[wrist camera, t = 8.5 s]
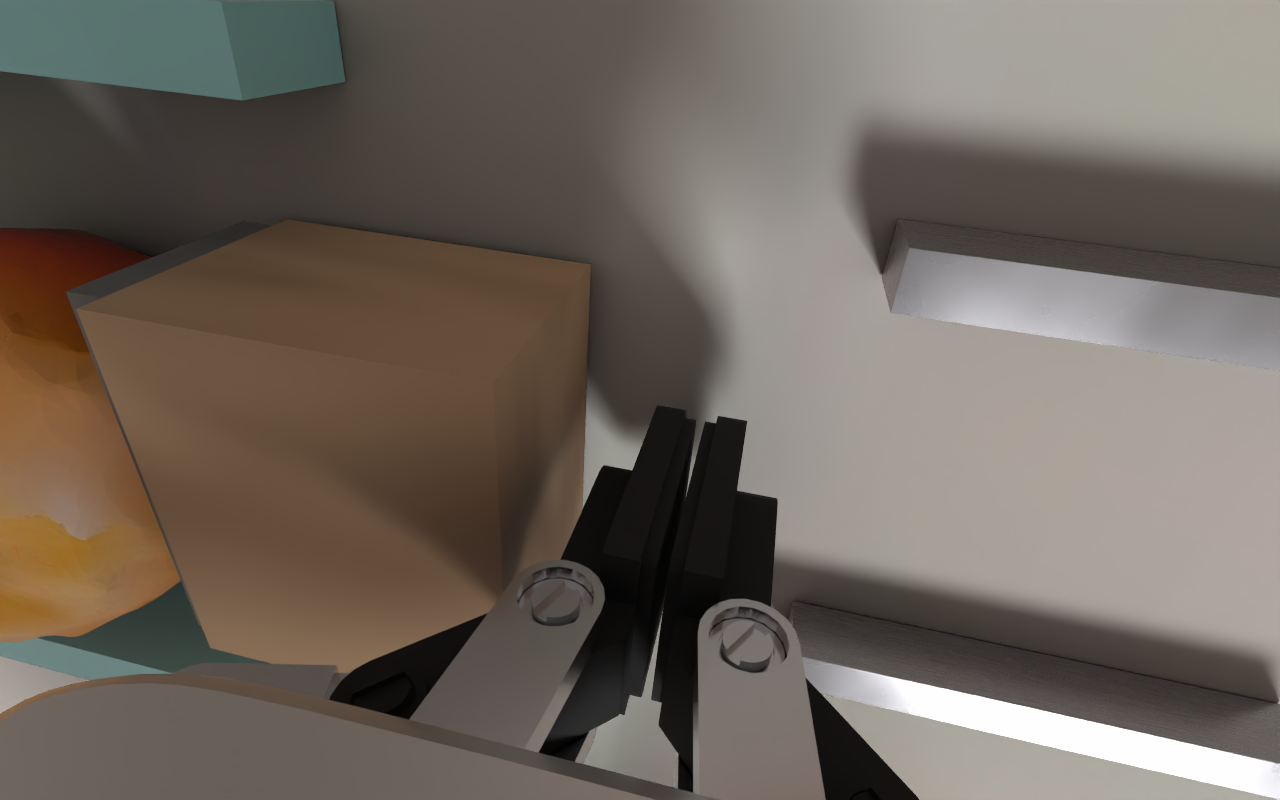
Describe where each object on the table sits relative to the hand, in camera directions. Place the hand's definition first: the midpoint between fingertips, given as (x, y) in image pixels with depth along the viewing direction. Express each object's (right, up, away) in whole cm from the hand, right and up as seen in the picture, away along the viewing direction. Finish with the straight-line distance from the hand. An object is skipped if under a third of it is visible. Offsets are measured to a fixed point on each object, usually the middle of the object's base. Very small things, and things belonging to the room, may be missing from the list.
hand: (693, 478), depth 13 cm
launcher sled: (-5, +2, +2) cm, 6 cm away
